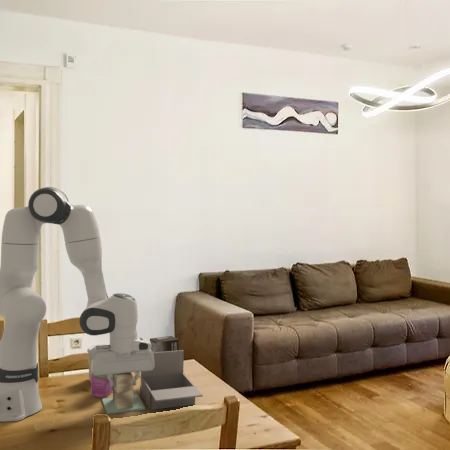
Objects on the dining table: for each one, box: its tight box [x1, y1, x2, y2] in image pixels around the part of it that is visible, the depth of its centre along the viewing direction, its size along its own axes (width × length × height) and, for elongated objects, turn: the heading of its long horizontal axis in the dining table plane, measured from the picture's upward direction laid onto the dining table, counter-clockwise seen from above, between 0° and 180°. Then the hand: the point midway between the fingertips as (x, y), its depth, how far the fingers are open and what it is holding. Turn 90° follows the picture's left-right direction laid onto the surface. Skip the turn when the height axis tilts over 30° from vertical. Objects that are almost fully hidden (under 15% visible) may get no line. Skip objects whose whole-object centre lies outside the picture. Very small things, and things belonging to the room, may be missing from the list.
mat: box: [101, 394, 146, 415], centre depth 177 cm, size 12×12×1 cm
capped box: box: [112, 372, 134, 409], centre depth 177 cm, size 5×9×10 cm, turn 20°
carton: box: [140, 349, 203, 411], centre depth 179 cm, size 15×23×14 cm, turn 20°
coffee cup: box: [87, 344, 104, 383], centre depth 201 cm, size 9×9×12 cm
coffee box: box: [149, 335, 180, 353], centre depth 200 cm, size 9×6×16 cm
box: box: [90, 372, 113, 398], centre depth 189 cm, size 10×6×12 cm, turn 168°
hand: (123, 385), depth 177 cm, fingers open, 5 cm apart
